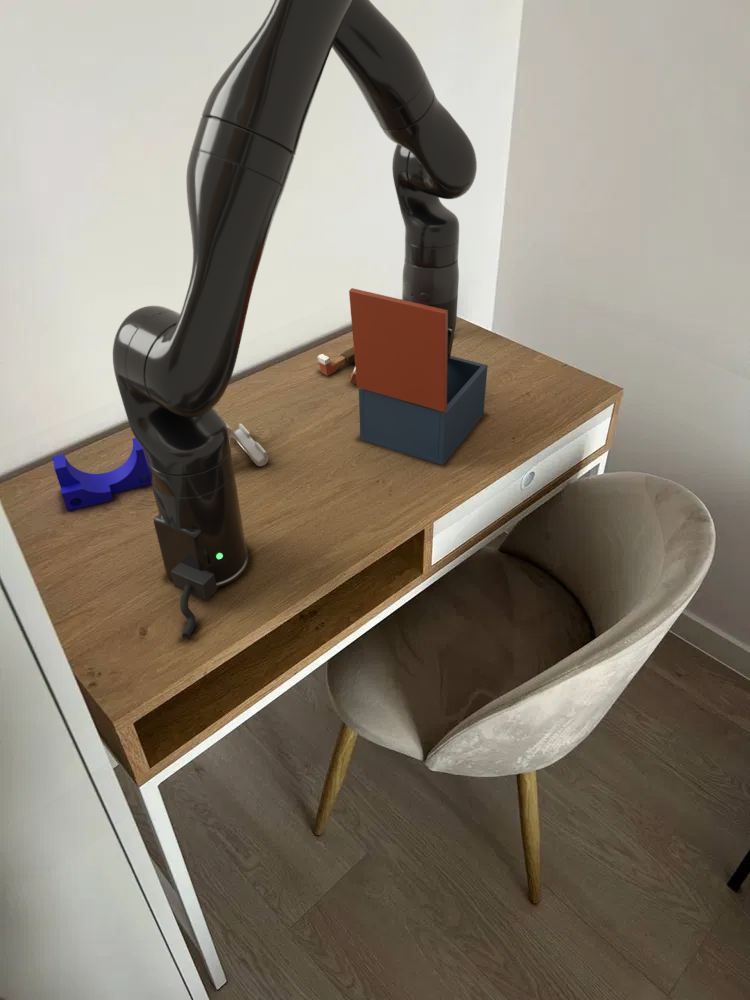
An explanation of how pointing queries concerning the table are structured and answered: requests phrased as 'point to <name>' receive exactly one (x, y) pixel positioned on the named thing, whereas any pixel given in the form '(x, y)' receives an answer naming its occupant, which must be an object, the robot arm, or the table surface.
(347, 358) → the character figurine
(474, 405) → the sorter box
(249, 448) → the tablet stand
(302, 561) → the table surface
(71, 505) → the blue cradle bracket
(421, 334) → the lid
